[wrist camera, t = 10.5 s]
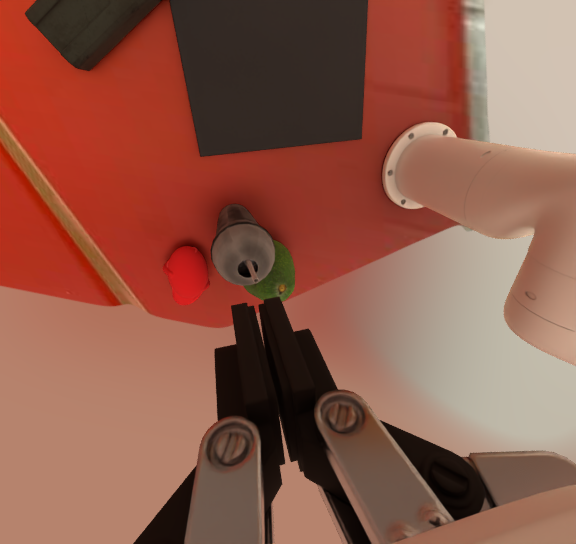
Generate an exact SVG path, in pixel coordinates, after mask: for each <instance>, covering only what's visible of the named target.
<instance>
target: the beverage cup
mask: <svg viewBox="0 0 576 544" xmlns="http://www.w3.org/2000/svg"><path fill="white" fill-rule="evenodd" d="M211 259H212V262H213V264H214V266H215V268H216V269H217V271H218V273H219V274H220V275H221V276H222V277H223V278H224V279H225V280H227V281H229V282H231V283H233V284H236V285H242V286H245V285H252V284H255V283H258V282H260V281H261V280H262V279H264V278H265V277H266V276H267V275H268V273H269V272H270V271H271V269H272V266H273V264H274V261H275V245H274V242H273V239H272V237H271V235H270V234H269V233H268V232H267V230H266V229H264V228H262V227H261V226H259V224H258V223H257V222H256V220H255V219H254V218H253V216H252V215H251V214H250V213H249V211H248V210H247V209H246V208H245V207H243V206H242V205H238V204H231V205H228V206H226V207H225V208H223V209H222V211H221V212H220V215H219V219H218V224H217V231H216V237H215V239H214V240H213V243H212V246H211Z"/></svg>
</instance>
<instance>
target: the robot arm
mask: <svg viewBox="0 0 576 544" xmlns="http://www.w3.org/2000/svg"><path fill="white" fill-rule="evenodd" d="M382 182H383V186H384V190H385V192H386V194H387V196H388V197H389V198H390V200H391V201H393V202H394V203H395V204H397V205H399V206H401V207H403V208H407V209H417V208H422V207H427V208H429V209H431V210H433V211H435V212H437V213H439V214H441V215H443V216H445V217H448V218H450V219H452V220H454V221H456V222H458V223H460V224H462V225H464V226H466V227H468V228H470V229H473V230H475V231H477V232H479V233H481V234H483V235H486V236H488V237H492V238H497V239H513V238H520V237H525V236H529V235H533V234H534V237H533V239H532V242H531V244H530V246H529V249H528V253H527V255H526V258H525V260H524V262H523V264H522V266H521V268H520V270H519V273H518V275H517V277H516V279H515V281H514V283H513V285H512V287H511V290H510V292H509V294H508V296H507V299H506V302H505V305H504V318H505V321H506V323H507V324H508V326H509V327H510V329H511V330H512V331H513V332H514V333H515V334H516V335H517V336H519V337H520V338H521V339H523V340H524V341H526V342H527V343H529V344H531V345H532V346H534V347H536V348H538V349H540V350H541V351H544V352H546V353H548V354H550V355H552V356H554V357H556V358H559V359H561V360H563V361H565V362H568V363H570V364H572V365H575V366H576V154H570V153H559V152H550V151H541V150H535V149H528V148H520V147H514V146H507V145H501V144H495V143H488V142H481V141H475V140H468V139H461V138H457V136H456V135H455V133H454V132H453V131H452V130H451V129H450V128H449V127H448V126H446V125H444V124H441V123H437V122H423V123H420V124H417V125H414V126H412V127H411V128H409V129H407V130H406V131H405V132H403V133H402V134H401V135H400V136H399V137H398V138H397V139H396V140H395V142H394V143H393V145H392V146H391V148H390V149H389V151H388V153H387V156H386V158H385V161H384V165H383V171H382ZM231 309H232V316H233V323H234V330H235V337H236V344H235V345H230V346H226V347H221V348H216V349H215V374H216V394H217V415H218V422H216V423H214V424H213V425H212V426H211V427H210V428H209V429H208V430H207V432H206V433H205V435H204V436H203V438H202V441H201V444H200V449H199V454H198V461H197V465H196V467H195V468H194V469H193V470H192V472H191V473H190V474H189V475H188V477H187V478H186V479H185V480H184V482H183V483H182V484H181V485H180V486H179V488H178V489H177V490H176V492H175V493H174V494H173V495H172V497H171V498H170V499H169V500H168V501H167V503H166V504H165V505H164V506H163V508H162V509H161V510H160V511H159V512H158V514H157V515H156V516H155V518H154V519H153V520H152V521H151V523H150V524H149V525H148V526H147V527H146V529H145V530H144V531H143V532H142V534H141V535H140V536H139V537H138V538H137V540H136V541H135V542H134V543H133V544H274V524H273V523H274V521H273V503H272V501H273V499H274V497H275V495H276V494H277V492H278V490H279V489H280V487H281V485H282V479H281V473H280V466H279V465H283V464H285V458H284V450H283V443H282V435H281V427H280V421H281V425H282V429H283V433H284V437H285V441H286V445H287V449H288V453H289V457H290V461H291V462H293V461H298V465H299V469H300V471H301V472H302V471H303V472H304V476H305V477H306V478H307V479H309V480H311V481H312V482H314V483H316V484H317V485H318V489H319V492H320V494H321V496H322V499H323V501H324V503H325V505H326V507H327V510H328V512H329V514H330V516H331V518H332V521H333V523H334V525H335V527H336V530H337V532H338V534H339V536H340V538H341V541H342V543H343V544H576V464H575V463H573V462H572V461H571V460H569V459H568V458H566V457H564V456H562V455H559V454H557V453H554V452H549V451H517V452H487V453H470V455H469V457H460V456H458V455H456V454H455V453H453V452H451V451H449V450H446V449H444V448H442V447H440V446H437V445H435V444H433V443H431V442H428V441H426V440H424V439H422V438H419V437H417V436H414V435H413V434H410V433H408V432H405V431H403V430H401V429H399V428H397V427H394V426H392V425H390V424H388V423H385V422H383V421H381V420H379V419H378V417H377V416H376V415H375V413H374V412H373V411H372V409H371V408H370V407H369V405H368V404H367V403H366V402H365V401H364V399H363V398H361V397H360V396H359V395H357V394H355V393H354V392H351V391H348V390H338V389H337V387H336V385H335V382H334V380H333V378H332V376H331V374H330V372H329V370H328V368H327V366H326V363H325V361H324V359H323V357H322V355H321V352H320V350H319V348H318V346H317V344H316V342H315V340H314V338H313V335H312V333H311V331H310V330H309V329H305V330H300V331H295V332H293V329H292V327H291V324H290V322H289V319H288V317H287V314H286V312H285V309H284V306H283V304H282V301H281V299H280V297H273V298H268V299H264V304H259V312H260V319H261V326H262V333H263V340H264V344H263V340H262V337H261V332H260V329H259V324H258V321H257V316H256V312H255V308H254V306H249V307H248V306H247V303H242V304H237V305H232V306H231ZM279 417H280V420H279Z"/></svg>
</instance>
